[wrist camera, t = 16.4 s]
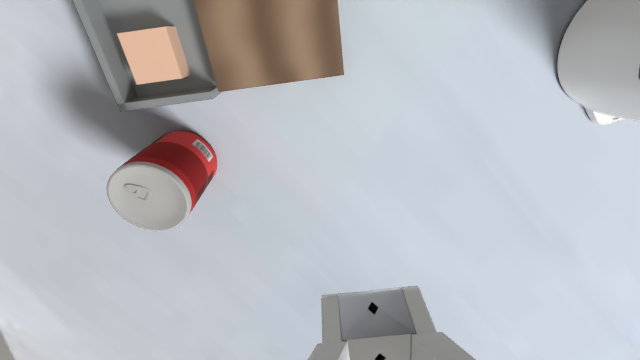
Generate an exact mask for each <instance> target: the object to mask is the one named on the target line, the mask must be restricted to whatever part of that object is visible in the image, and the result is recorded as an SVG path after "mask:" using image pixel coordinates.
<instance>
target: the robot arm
mask: <svg viewBox="0 0 640 360" xmlns="http://www.w3.org/2000/svg"><path fill="white" fill-rule="evenodd" d="M557 67H558V76H559V80H560V83H561V86H562V88H563V89H564V91H565V92H566V94H567V95H568V96H569V97H570V98H572V99H573V100H574V101H576V102H578V103H579V104H581V105H582V106H583V107H584V108H585V109H586V112H587V114H588V116H589V118H590V120H591V121H592V122H593V123H596V124H601V125H605V124H609V123H613V122H616V121H619V120H623V119H626V120H631V121H635V122H640V0H587V1H586V2H585V3H584V5H583V6H582V7H581V8H580V10H579V11H578V12H577V14H576V15H575V16H574V18H573V20H572V21H571V23H570V25H569V26H568V28H567V30H566V33H565V35H564V37H563V40H562V43H561V46H560V50H559V55H558V65H557ZM321 306H322V343H320V344H317V345H316V347H315V349H314V350H313V352H312V354H311V355H310V357H309V358H308V360H476V359H474V358H473V357H472V356H471V355H469V354H468V353H467V352H466V351H465V350H463V349H462V348H461V347H460V346H459V345H457V344H456V343H455V342H454V341H452V340H451V339H450V338H449V337H448V336H446V335H445V334H444V333H443V332H437V331H436V329H435V326H434V324H433V321H432V319H431V316H430V314H429V311H428V309H427V306H426V304H425V301H424V299H423V296H422V294H421V291H420V289H419V287H418V286H408V287H401V288H400V287H397V288H388V289H380V290H371V291H365V292H351V293H338V294H328V295H322V299H321Z"/></svg>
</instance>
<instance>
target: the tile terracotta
mask: <svg viewBox="0 0 640 360" xmlns="http://www.w3.org/2000/svg"><path fill="white" fill-rule="evenodd" d="M117 35H118V38H119V40H120V43H121V45H122V48H123V51H124V53H125V56H126V58H127V61H128V64H129V66H130V69H131V71H132V74H133V77H134V79H135V82H136V84H137V85H138V84H146V83H153V82H160V81H167V80H174V79H182V78H184V77H187V76H189V75H190V72H189V69H188V65H187V62H186V59H185V56H184V52H183V49H182V46H181V43H180V39H179V36H178V33H177V29H176V26H165V27H158V28H152V29H145V30H138V31H131V32H124V33H117Z"/></svg>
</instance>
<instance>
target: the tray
mask: <svg viewBox="0 0 640 360" xmlns="http://www.w3.org/2000/svg"><path fill="white" fill-rule="evenodd" d="M73 2H74V4H75V6H76V9H77V11H78V14H79V16H80V18H81V21H82V23H83V25H84V28H85V30H86V32H87V35H88V37H89V39H90V42H91V44H92V46H93V49H94V51H95V53H96V56H97V58H98V60H99V63H100V65H101V67H102V70H103V72H104V75H105V77H106V79H107V82H108V84H109V86H110V89H111V91H112V93H113V96H114V98H115V100H116V103H117V105H118V107H119V110H120V112H121V111H128V110H135V109H143V108H150V107H157V106H165V105H172V104H180V103H187V102H194V101H202V100H209V99H213V98H215V97H216V96H217V95H219V94H220V93H221V92H218V88H217V84H216V81H215V77H214V73H213V70H212V66H211V62H210V59H209V55H208V51H207V48H206V44H205V40H204V37H203V33H202V29H201V26H200V22H199V18H198V15H197V11H196V7H195V3H194V0H73ZM165 26H176V29H177V33H178V36H179V39H180V43H181V46H182V49H183V52H184V56H185V59H186V62H187V65H188V69H189V72H190V75H189V76H187V77H184V78H182V79H174V80H167V81H160V82H153V83H146V84H138V85H137V84H136V82H135V79H134V77H133V74H132V71H131V69H130V66H129V64H128V61H127V58H126V56H125V53H124V51H123V48H122V45H121V43H120V40H119V38H118V35H117V33H124V32H131V31H138V30H145V29H152V28H158V27H165Z"/></svg>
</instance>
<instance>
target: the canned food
mask: <svg viewBox="0 0 640 360" xmlns="http://www.w3.org/2000/svg"><path fill="white" fill-rule="evenodd" d="M216 169H217V159H216V155H215V152H214V150H213V148H212V147H211V145H210V144H209V143H208V142H207V141H206V140H205V139H203V138H202V137H200V136H199V135H197V134H194V133H192V132H187V131H174V132H169V133H166V134H164V135H163V136H161V137H160V138H159V139H157V140H156V141H154V142H153V143H152V144H150V145H149V146H148V147H146V148H145V149H143V150H142V151H141V152H139V153H138V154H136V155H135V156H134V157H132V158H131V159H130V160H128V161H127V162H125V163H124V164H123V165H122V166H120V167H119V168H118V169H117V170H116V171H115V172H114V173H113V174H112V175H111V176H110V178H109V180H108V184H107V195H108V198H109V201H110V203H111V205H112V206H113V208H114V209H115V210H116V212H117V213H118V214H119V215H120V216H121V217H123V218H124V219H125V220H127V221H128V222H130V223H132V224H134V225H136V226H138V227H141V228H144V229H148V230H154V231H163V230H169V229H172V228H175V227H177V226H178V225H180V224H181V223H182V222H183V221H184V220H185V219H186V218H187V216H188V215H189V213H190V212H191V211H192V209H193V208H194V206H195V204H196V203H197V201H198V200H199V198H200V197H201V195H202V194H203V192H204V190H205V189H206V187H207V186H208V184H209V183H210V181H211V179H212V178H213V176H214V175H215V172H216Z"/></svg>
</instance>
